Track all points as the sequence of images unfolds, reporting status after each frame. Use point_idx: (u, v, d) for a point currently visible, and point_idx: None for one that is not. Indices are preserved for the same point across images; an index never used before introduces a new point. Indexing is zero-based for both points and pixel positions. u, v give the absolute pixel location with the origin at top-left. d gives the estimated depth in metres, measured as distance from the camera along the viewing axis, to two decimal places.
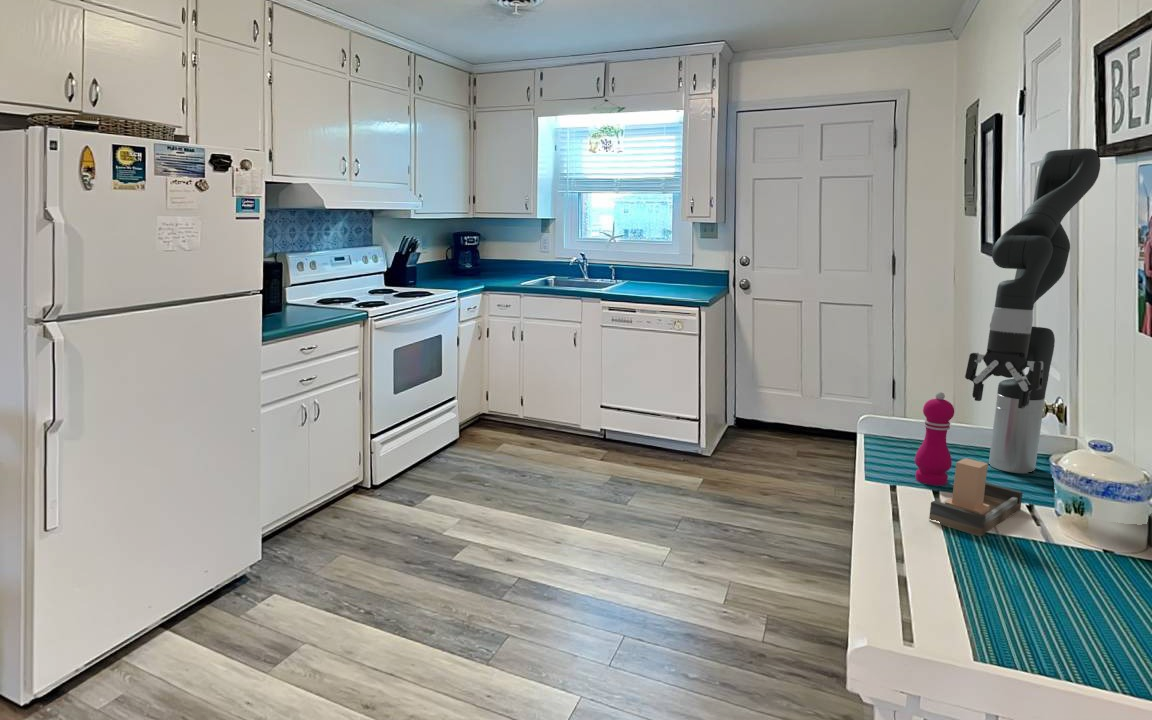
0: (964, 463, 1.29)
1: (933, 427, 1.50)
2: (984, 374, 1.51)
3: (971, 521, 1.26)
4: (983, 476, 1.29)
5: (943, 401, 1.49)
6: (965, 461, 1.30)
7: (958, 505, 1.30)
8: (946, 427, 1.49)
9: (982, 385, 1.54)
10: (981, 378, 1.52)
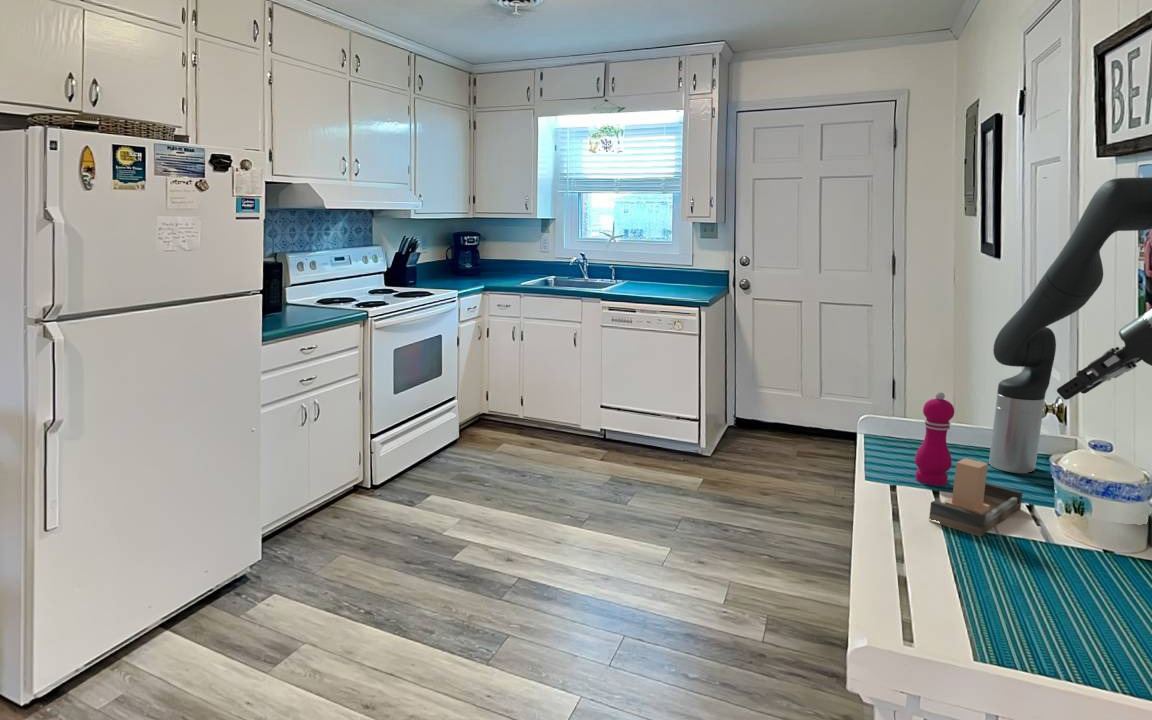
0: (964, 463, 1.29)
1: (933, 427, 1.50)
2: (1106, 380, 1.10)
3: (971, 521, 1.26)
4: (983, 476, 1.29)
5: (943, 401, 1.49)
6: (965, 461, 1.30)
7: (958, 505, 1.30)
8: (946, 427, 1.49)
9: None
10: (1097, 382, 1.10)
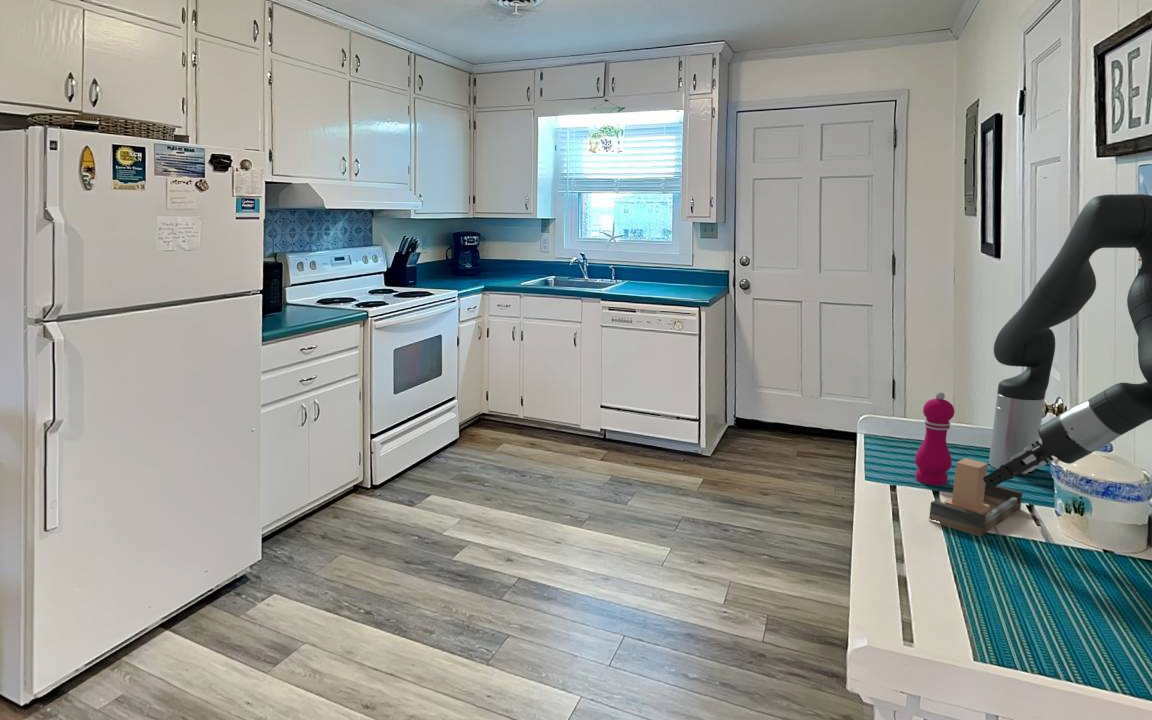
0: (964, 463, 1.29)
1: (933, 427, 1.50)
2: None
3: (971, 521, 1.26)
4: (983, 476, 1.29)
5: (943, 401, 1.49)
6: (965, 461, 1.30)
7: (958, 505, 1.30)
8: (946, 427, 1.49)
9: None
10: None
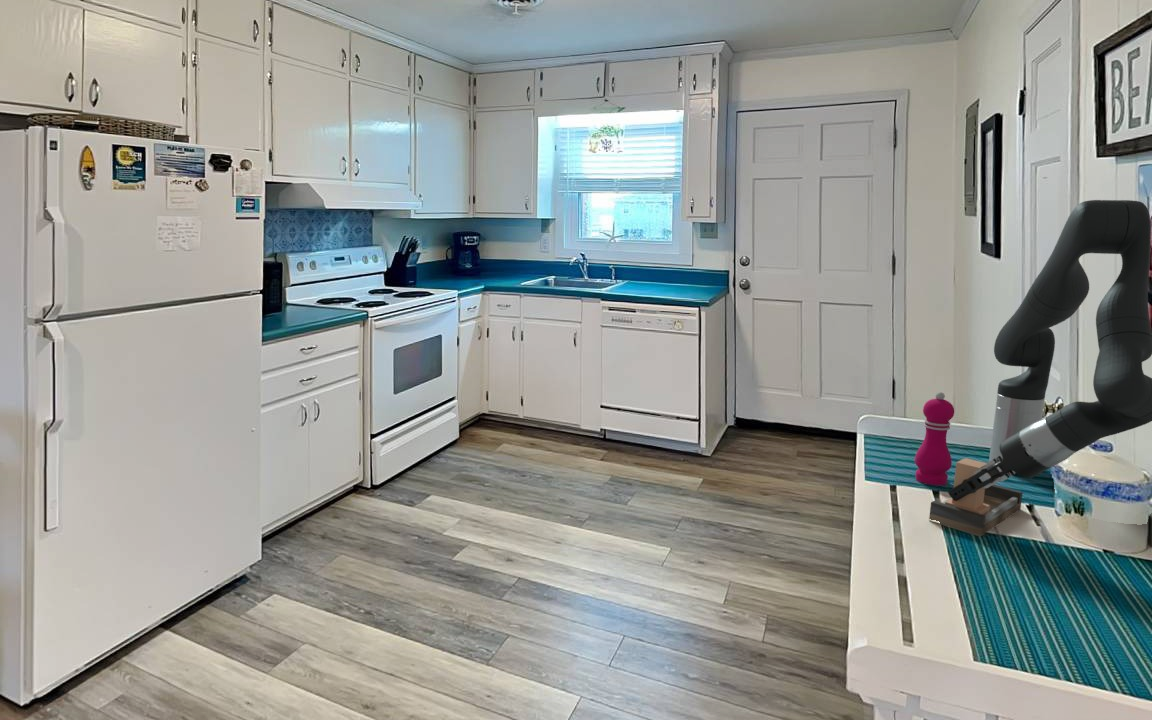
0: (964, 463, 1.29)
1: (933, 427, 1.50)
2: None
3: (971, 521, 1.26)
4: None
5: (943, 401, 1.49)
6: (965, 461, 1.30)
7: (958, 505, 1.30)
8: (946, 427, 1.49)
9: None
10: None
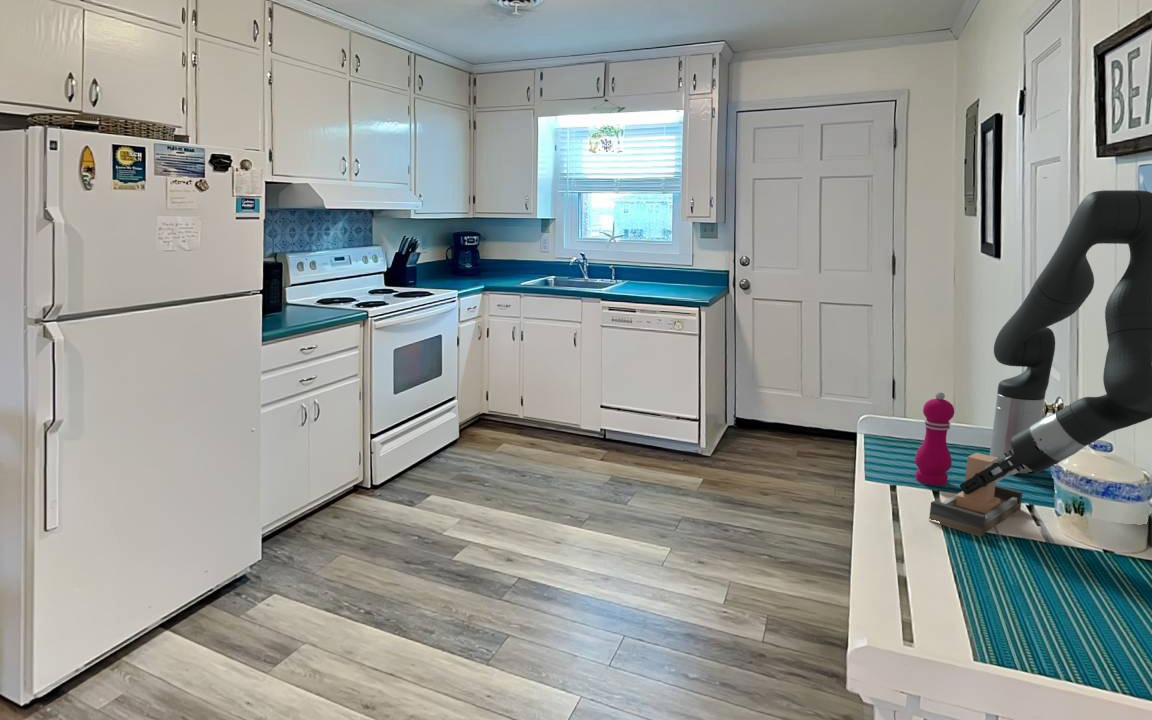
0: (975, 458, 1.32)
1: (933, 427, 1.50)
2: (999, 480, 1.29)
3: (971, 521, 1.26)
4: None
5: (943, 401, 1.49)
6: (976, 455, 1.34)
7: (970, 498, 1.33)
8: (946, 427, 1.49)
9: None
10: None
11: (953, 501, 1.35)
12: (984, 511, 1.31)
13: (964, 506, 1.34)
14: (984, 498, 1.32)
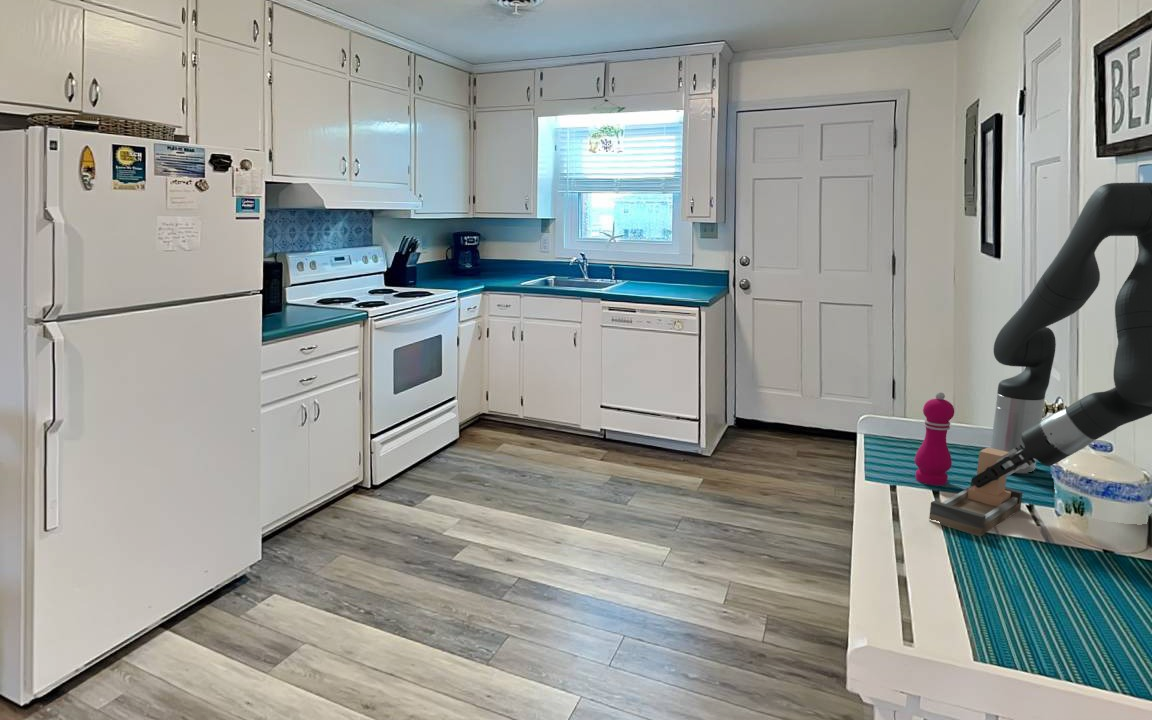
0: (987, 452, 1.36)
1: (933, 427, 1.50)
2: (1010, 474, 1.33)
3: (971, 521, 1.26)
4: None
5: (943, 401, 1.49)
6: (988, 450, 1.37)
7: (981, 492, 1.37)
8: (946, 427, 1.49)
9: None
10: None
11: (953, 501, 1.35)
12: (995, 504, 1.35)
13: (976, 499, 1.38)
14: (995, 491, 1.35)
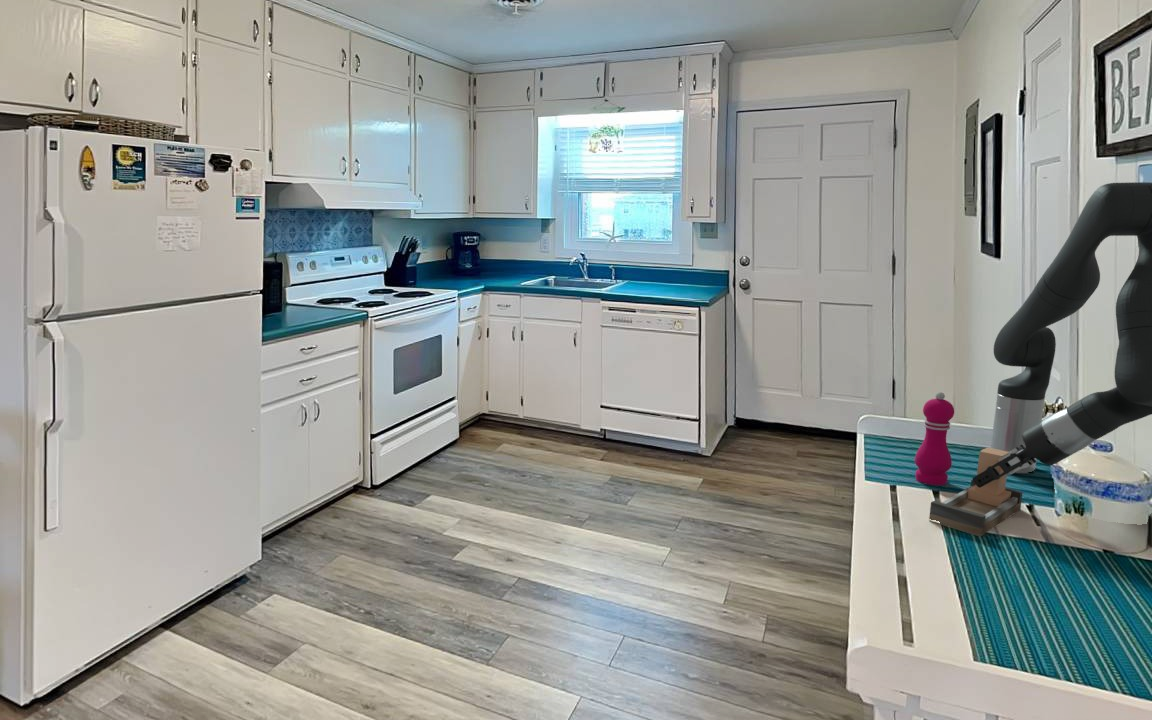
0: (987, 452, 1.36)
1: (933, 427, 1.50)
2: None
3: (971, 521, 1.26)
4: None
5: (943, 401, 1.49)
6: (988, 450, 1.37)
7: (981, 492, 1.37)
8: (946, 427, 1.49)
9: None
10: None
11: (953, 501, 1.35)
12: (995, 504, 1.35)
13: (976, 499, 1.38)
14: (995, 491, 1.35)
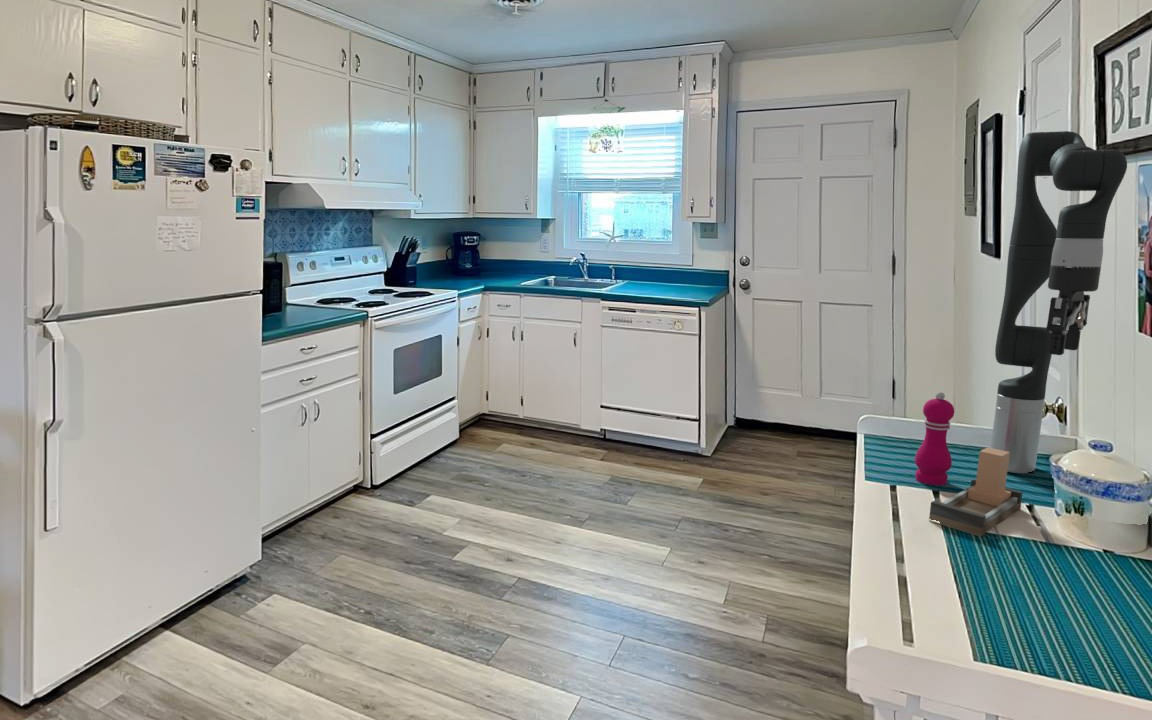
0: (987, 452, 1.36)
1: (933, 427, 1.50)
2: (1073, 321, 1.25)
3: (971, 521, 1.26)
4: (1005, 464, 1.36)
5: (943, 401, 1.49)
6: (988, 450, 1.37)
7: (981, 492, 1.37)
8: (946, 427, 1.49)
9: None
10: (1068, 327, 1.25)
11: (953, 501, 1.35)
12: (995, 504, 1.35)
13: (976, 499, 1.38)
14: (995, 491, 1.35)
